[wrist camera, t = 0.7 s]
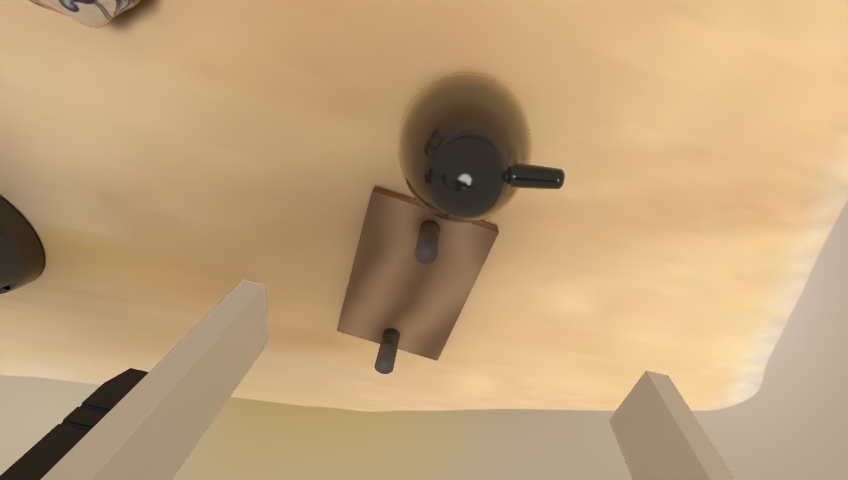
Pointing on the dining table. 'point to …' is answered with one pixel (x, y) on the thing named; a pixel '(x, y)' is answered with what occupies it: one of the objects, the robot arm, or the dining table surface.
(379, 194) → the holder
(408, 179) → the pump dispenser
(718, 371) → the dining table surface
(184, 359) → the robot arm
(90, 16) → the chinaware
